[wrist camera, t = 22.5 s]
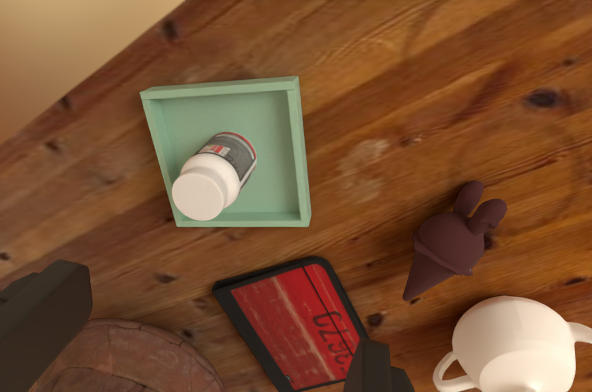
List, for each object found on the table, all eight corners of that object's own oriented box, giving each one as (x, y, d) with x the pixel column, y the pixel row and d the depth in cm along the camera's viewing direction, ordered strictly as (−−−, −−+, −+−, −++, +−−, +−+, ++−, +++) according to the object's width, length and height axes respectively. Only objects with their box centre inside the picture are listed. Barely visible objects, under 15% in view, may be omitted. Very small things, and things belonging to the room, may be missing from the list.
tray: (151, 86, 40) (139, 92, 38) (298, 75, 37) (294, 80, 35) (185, 216, 47) (176, 227, 44) (311, 215, 44) (308, 227, 42)
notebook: (280, 398, 56) (208, 292, 49) (283, 384, 58) (214, 281, 51) (385, 377, 52) (323, 256, 44) (383, 362, 54) (324, 245, 46)
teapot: (582, 257, 41) (642, 328, 32) (613, 335, 45) (674, 418, 36) (406, 312, 48) (415, 383, 39) (445, 375, 52) (462, 453, 43)
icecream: (444, 332, 40) (542, 222, 34) (387, 315, 38) (481, 194, 32) (419, 287, 46) (498, 186, 40) (368, 270, 44) (444, 161, 38)
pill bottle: (204, 128, 40) (160, 164, 32) (256, 130, 40) (225, 168, 31) (210, 177, 43) (171, 223, 34) (259, 181, 42) (231, 228, 34)
